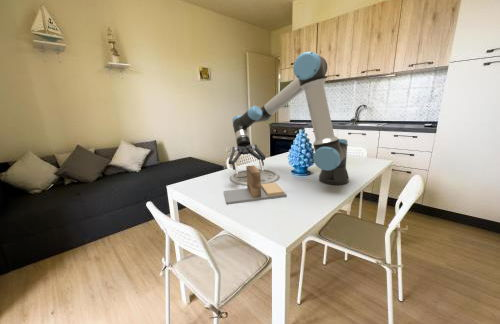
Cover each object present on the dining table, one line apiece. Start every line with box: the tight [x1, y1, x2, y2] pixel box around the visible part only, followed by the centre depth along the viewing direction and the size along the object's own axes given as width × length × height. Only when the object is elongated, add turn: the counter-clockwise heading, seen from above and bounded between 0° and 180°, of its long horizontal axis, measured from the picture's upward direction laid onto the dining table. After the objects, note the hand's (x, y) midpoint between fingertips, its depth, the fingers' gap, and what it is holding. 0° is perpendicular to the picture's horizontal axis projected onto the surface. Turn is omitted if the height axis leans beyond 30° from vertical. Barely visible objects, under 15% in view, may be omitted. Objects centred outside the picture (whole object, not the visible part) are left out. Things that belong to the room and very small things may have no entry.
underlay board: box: [223, 181, 288, 205], centre depth 106 cm, size 28×14×2 cm, turn 101°
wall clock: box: [229, 168, 280, 187], centre depth 132 cm, size 30×2×30 cm
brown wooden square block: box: [245, 165, 261, 198], centre depth 104 cm, size 4×12×12 cm, turn 12°
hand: (250, 173), depth 114 cm, fingers open, 13 cm apart
